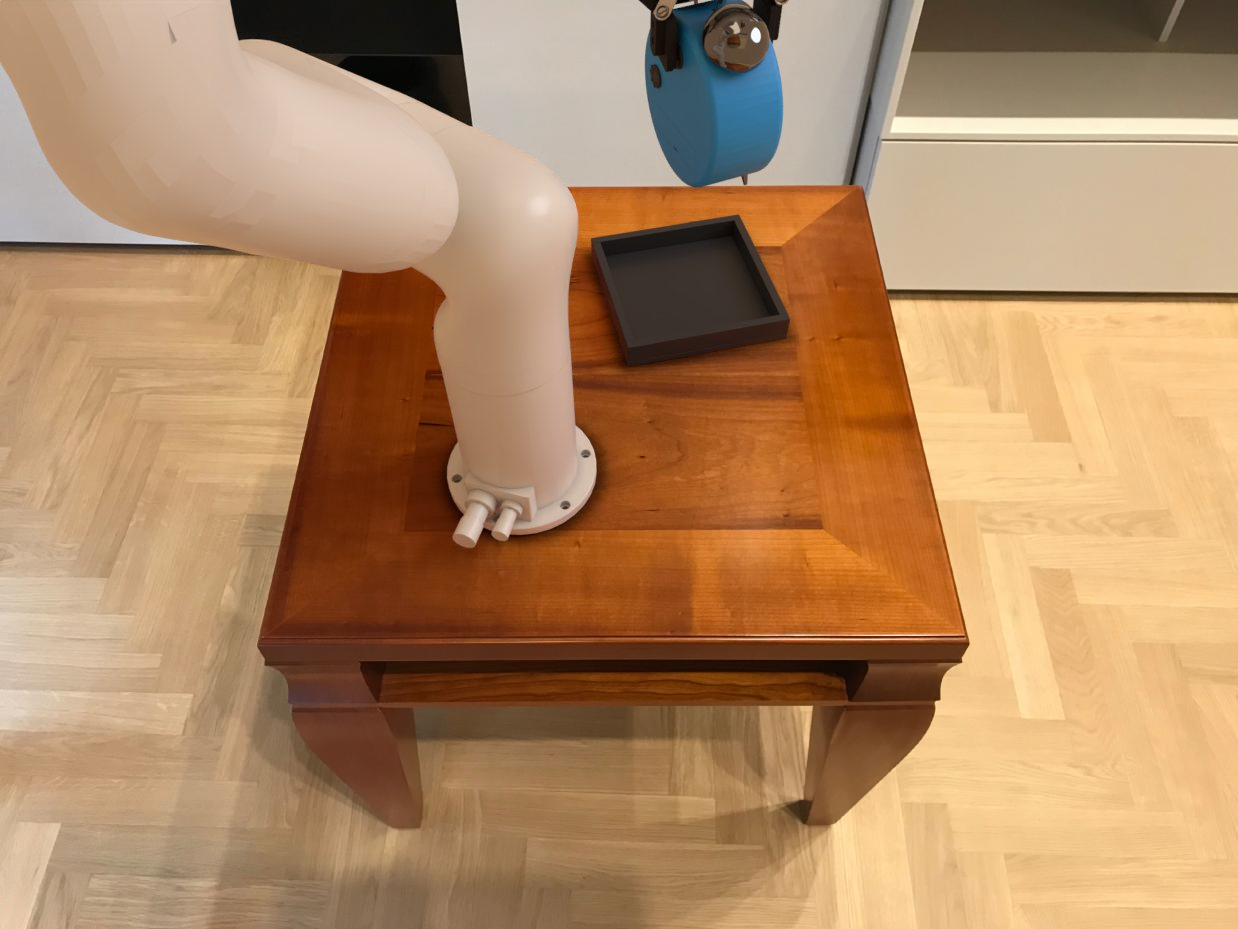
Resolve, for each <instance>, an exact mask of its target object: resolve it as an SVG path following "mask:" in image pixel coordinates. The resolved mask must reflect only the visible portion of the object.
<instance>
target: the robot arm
mask: <svg viewBox="0 0 1238 929" xmlns="http://www.w3.org/2000/svg"><path fill="white" fill-rule="evenodd" d="M638 1H639V2H640V3H641V4H642V5H643V6H644V7H645V8H646V9H648V10H649V11H650V20H649V22H650V23H649V24H650V26H649V30H650V47H651V51H652V54H653V56H658V57H659V59H660V61H661V63H662V65H663V67H664V69H665V72H670V71H673V69H675V68H676V50H677V28H678V22H677V19H676V17H675V15H674V13H673V9H675V6H676V5H677V4H676V2H677V0H638ZM789 1H790V0H752V9H753V10H755V11H756V12H757V13H758V14H759V15H760V16H761V17H762V18H763V20H764V21H765V23H766V25H767V28H768V31H769V37H770V40H771V42H772V45H773V46H774V41H777V40H778V39H779V34H780V28H781V19H782V13H783V6H784V5H786V4H787V3H788V2H789ZM675 4H676V5H675ZM0 65H1V67H2V69H3V70H4V71H5V74H7V76H8V78H9V80H10V82H11V84H12V86H13V88H14V90H15V92H16V93H17V96H18V98H19V100H20V102H21V104H22V106H23V110H24V111H25V115H26V117H27V118H28V121H29V123H30V126H31V128H32V131H33V133H34V136H35V138H36V141H37V143H38V145H39V147H40V149H41V151H42V153H43V156H44V157H45V159H46V161H47V163H48V164H49V166H50V167H51V169H52V170H53V172H54V173H55V175H56V176H57V177H58V178H59V180H60V181H61V183H62V184H63V185H64V186H65V187H66V188H67V190H68V191H69V192H70V193H71V194H72V195H73V197H75V198H76V199H77V200H78V201H79V202H80V203H81V204H82V205H84V207H86V208H87V209H88V210H90V211H91V212H92V213H94V214H95V215H96V216H98V217H100V218H101V219H102V220H104V221H107V222H109V223H111V224H114V225H115V226H118V227H121V228H123V229H126V230H129V231H132V232H135V233H138V234H142V235H146V236H151V237H155V238H161V239H167V240H174V241H180V242H186V243H191V244H198V245H203V246H210V247H217V248H223V249H228V250H232V251H236V252H241V253H245V254H249V255H254V256H261V257H266V258H272V259H278V260H284V261H290V262H295V263H296V262H297V263H300V264H301V263H302V264H308V265H313V266H320V267H325V268H331V269H335V270H341V271H345V272H349V273H350V272H351V273H356V274H384V273H390V272H398V271H402V270H403V271H404V270H406V269H409V268H412V269H414V270H415V271H417V272H419V273H421V274H423V275H424V276H426V277H427V278H428V279H429V280H431V281H433V282H434V283H435V284H436V286H438V287H439V288H440V289H441V291H442V292H443V293H444V295H445V299H444V300H443V301H442V303H441V304H440V306H439V307H438V309H437V311H436V314H435V317H434V321H433V341H434V346H435V351H436V356H437V360H438V364H439V367H440V369H441V374H442V378H443V383H444V386H445V392H446V395H447V401H448V404H449V408H450V412H451V418H452V421H453V426H454V430H455V435H456V439H457V442H456V444H454V447H453V449H452V451H451V453H450V455H449V458H448V463H447V466H446V480H447V485H448V489H449V493H450V495H451V498H452V501H453V503H455V505H456V507H457V509H458V510H459V512H461V513H462V514H463V515H462V517H461V518H460V520H459V522H458V524H457V526H456V528H455V530H454V532H453V534H452V536H451V537H452V541H454V543H455V544H457V545H458V546H461V547H463V548H466V549H473V548H475V547H476V545H477V543H478V541H479V538H480V536H481V534H482V532H483V529H486V530H488V531H491V533H490V535H491V536H492V537H493V538H494V539H495V540H497V541H499V542H507V541H508V540H509V538H510V535H512V536H513V535H515V536H523V535H533V534H539V533H542V532H546V531H549V530H551V529H554V528H555V527H558V526H560V525H562V524H564V523H565V522H567V521H568V520H570V519H571V518H572V517H574V516H575V515H576V514H577V513H578V512H579V511H580V510H581V509H582V508H583V507H584V506H585V504H586V503H587V501H588V500H589V499H590V498H591V495H592V493H593V490H594V488H595V485H596V480H597V473H598V470H597V458H596V453H595V449H594V447H593V444H592V443H591V441H590V439H589V438H588V436H587V435H586V433H585V432H583V430H582V429H580V427H578V426H577V425H576V413H575V400H574V398H575V397H574V384H573V382H574V381H573V366H572V351H571V339H570V338H571V337H570V323H569V293H570V292H569V291H570V281H571V274H572V267H573V262H574V256H575V253H576V247H577V242H578V236H579V212H578V207H577V204H576V201H575V198H574V196H573V194H572V193H571V190H570V189H569V188H568V186H567V185H566V184H565V182H564V181H563V180H562V179H561V177H559V176H558V174H556V172H554V171H553V170H552V169H550V167H548V166H547V165H546V164H544V163H543V162H541V161H539V159H536V158H535V157H534V156H532V155H530V154H528V153H527V152H525V151H523V150H522V149H519V148H517V147H515V146H513V145H511V144H509V143H507V142H505V141H503V140H501V139H499V138H497V137H495V136H493V135H491V134H489V133H487V132H486V131H483V130H481V129H479V128H477V127H476V126H470V125H468V124H466V123H464V122H462V121H460V120H457V119H456V118H454V117H451V116H450V115H448V114H447V113H444V112H442V111H440V110H437V109H436V108H434V107H431V106H429V104H425V103H424V102H421V101H419V100H417V99H415V98H414V97H411V96H408V95H407V94H404V93H402V92H400V91H398V90H395V89H392V88H390V87H387V86H385V85H382V84H380V83H379V82H375V81H373V80H370V79H368V78H365V77H363V76H361V75H358V74H356V73H354V72H351V71H348V70H346V69H344V68H341V67H340V66H336V65H334V64H331V63H330V62H327V61H326V60H325V61H324V60H322V59H320V58H317V57H315V56H312V55H310V54H309V53H305V52H303V51H300V50H299V49H296V48H293V47H291V46H288V45H285V44H283V43H281V42H277V41H273V40H269V39H255V38H251V39H250V38H249V39H240V40H239V37H238V33H237V28H236V24H235V20H234V14H233V8H232V4H231V0H0Z"/></svg>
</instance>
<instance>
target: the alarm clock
mask: <svg viewBox="0 0 1238 929" xmlns="http://www.w3.org/2000/svg"><path fill="white" fill-rule="evenodd" d="M691 2H693V4H688V5H684V6H680V7H674V8H673V13H674V15H675V17H676V19H677V22H678V28H677V50H676V68H675V69H673V71H670V72H665V69H664V67H663V65H662V63H661V61H660V59H659V57H658V56H653V54H652V51H651V47H650V29H649V30H648V34H647V37H646V42H645V49H644V79H645V80H644V81H645V88H646V89H645V90H646V97H647V103H648V109H649V114H650V118H651V121H652V125H653V128H654V132H655V135H656V138H657V141H658V145H659V146H660V149H661V151H662V154H663V156H664V157H665V160H666V162H667V163H668V165H669V167H670V168H671V170H672V172H674V174H675V175H676V177H677V178H678V179H679V180H680V181H681V182H683V183H684V184H686V186H689V187H692V188H703V187H707V186H711V185H714V184H718V183H721V182H725V181H729V180H733V179H738V178H740V177H741V181H742V185H743V186H747V185H748V180H749V179H748V178H749V177H748V176H749V175H751V174H755V173H758V172H760V171H762V170H764V169H765V168H767V166H768V165H769V164H770V163H771V161H772V160H773V158H774V157H775V155H776V153H777V151H778V148H779V144H780V140H781V136H782V131H783V130H782V129H783V121H784V92H783V83H782V77H781V70H780V67H779V63H778V58H777V55H776V51H775V48H774V44H773V45H772V42H771V40H770V37H769V31H768V28H767V25H766V23H765V21H764V20H763V18H762V17H761V16H760V15H759V14H758V13H757V12H756V11H755V10H753V6H750V4H749V3H747V2H746V1H744V0H707V1H702V2H699V0H677V2H676V4H675V6H676V5H681V4H686V3H691Z"/></svg>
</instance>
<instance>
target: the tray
mask: <svg viewBox="0 0 1238 929" xmlns="http://www.w3.org/2000/svg"><path fill="white" fill-rule="evenodd" d="M590 249H591V252H590V253H591V261H592V263H593V266H594V269H595V273H596V275H597V279H598V281H599V284H600V287H601V290H602V293H603V294H602V295H603V297H604V299H605V302H606V305H607V308H608V312H609V314H610V318H611V320H612V324H613V327H614V330H615V332H616V336H617V339H618V341H619V342H618V343H619V344H620V348H621V351H622V353H623V356H624V360H625V363H626V366H627V367H629V368H630V367H636V366H640V365H647V364H652V363H658V362H663V361H668V360H673V359H679V358H686V357H691V356H697V355H701V354H702V355H703V354H707V353H712V352H718V351H724V350H730V349H734V348H741V347H745V346H751V345H757V344H763V343H767V342H773V341H778V340H784V339H788V333H789V327H790V322H791V317H790V316H789V314H788V311H787V309H786V307H785V305H784V303H783V301H782V299H781V297H780V295H779V293H778V290H777V289H776V287H775V284H774V283H773V280H772V278H771V277H770V274H769V273H768V272H769V271H768V270H767V268H766V266H765V264H764V262H763V260H762V258H761V256H760V254H759V252H758V250H757V248H756V245H755V243H754V242H753V240H752V237H751V236H750V234H749V232H748V230H747V227H746V226H745V224H744V221H743V219H742V218H741V216H740V214H739V213H738V214H731V215H725V216H720V217H719V216H718V217H714V218H707V219H701V220H694V221H688V222H683V223H677V224H670V225H663V226H658V227H652V228H645V229H640V230H633V231H625V232H620V233H614V234H613V233H612V234H610V235H609V234H608V235H601V236H595V237H591V238H590Z"/></svg>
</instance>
